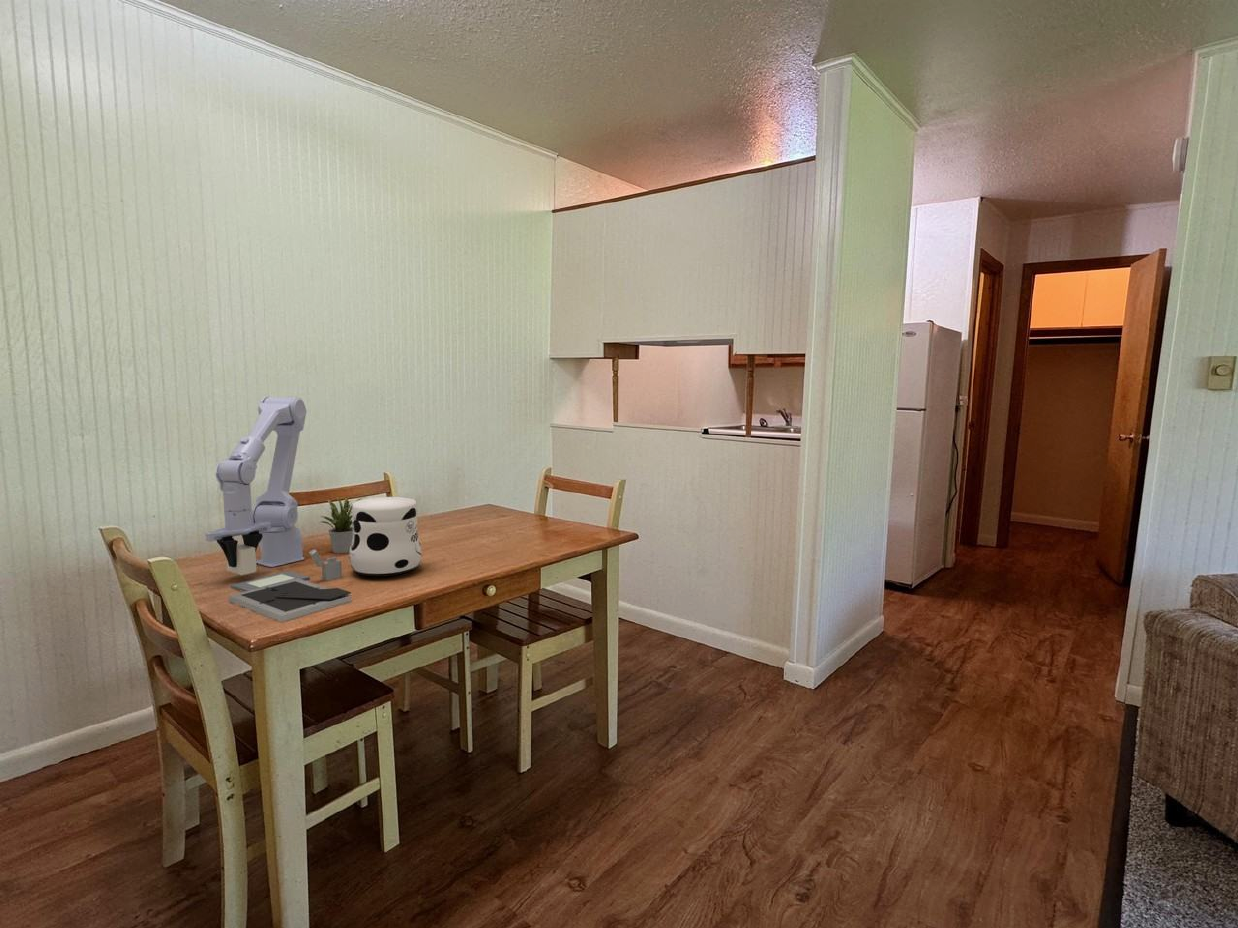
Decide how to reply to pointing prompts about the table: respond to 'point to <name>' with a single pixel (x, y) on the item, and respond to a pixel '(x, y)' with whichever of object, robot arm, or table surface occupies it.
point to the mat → (269, 580)
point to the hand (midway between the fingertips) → (241, 564)
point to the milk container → (384, 536)
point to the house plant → (341, 526)
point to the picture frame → (290, 599)
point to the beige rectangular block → (244, 560)
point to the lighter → (327, 566)
